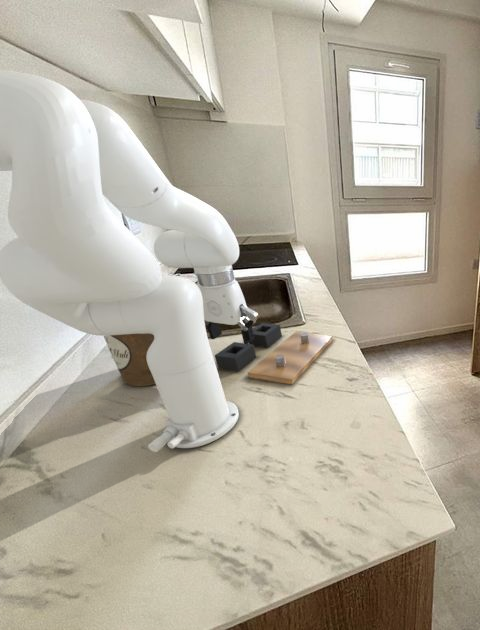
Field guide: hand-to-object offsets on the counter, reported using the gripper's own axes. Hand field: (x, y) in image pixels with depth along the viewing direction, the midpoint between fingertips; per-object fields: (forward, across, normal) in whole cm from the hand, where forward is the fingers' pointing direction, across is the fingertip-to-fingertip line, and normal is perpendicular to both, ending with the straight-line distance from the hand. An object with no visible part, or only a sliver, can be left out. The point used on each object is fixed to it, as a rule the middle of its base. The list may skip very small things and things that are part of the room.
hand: (233, 339), depth 85 cm
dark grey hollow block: (+7, 0, +11) cm, 13 cm away
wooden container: (+7, -17, -8) cm, 20 cm away
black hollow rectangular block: (+7, 0, -1) cm, 7 cm away
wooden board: (+7, +13, +5) cm, 16 cm away
